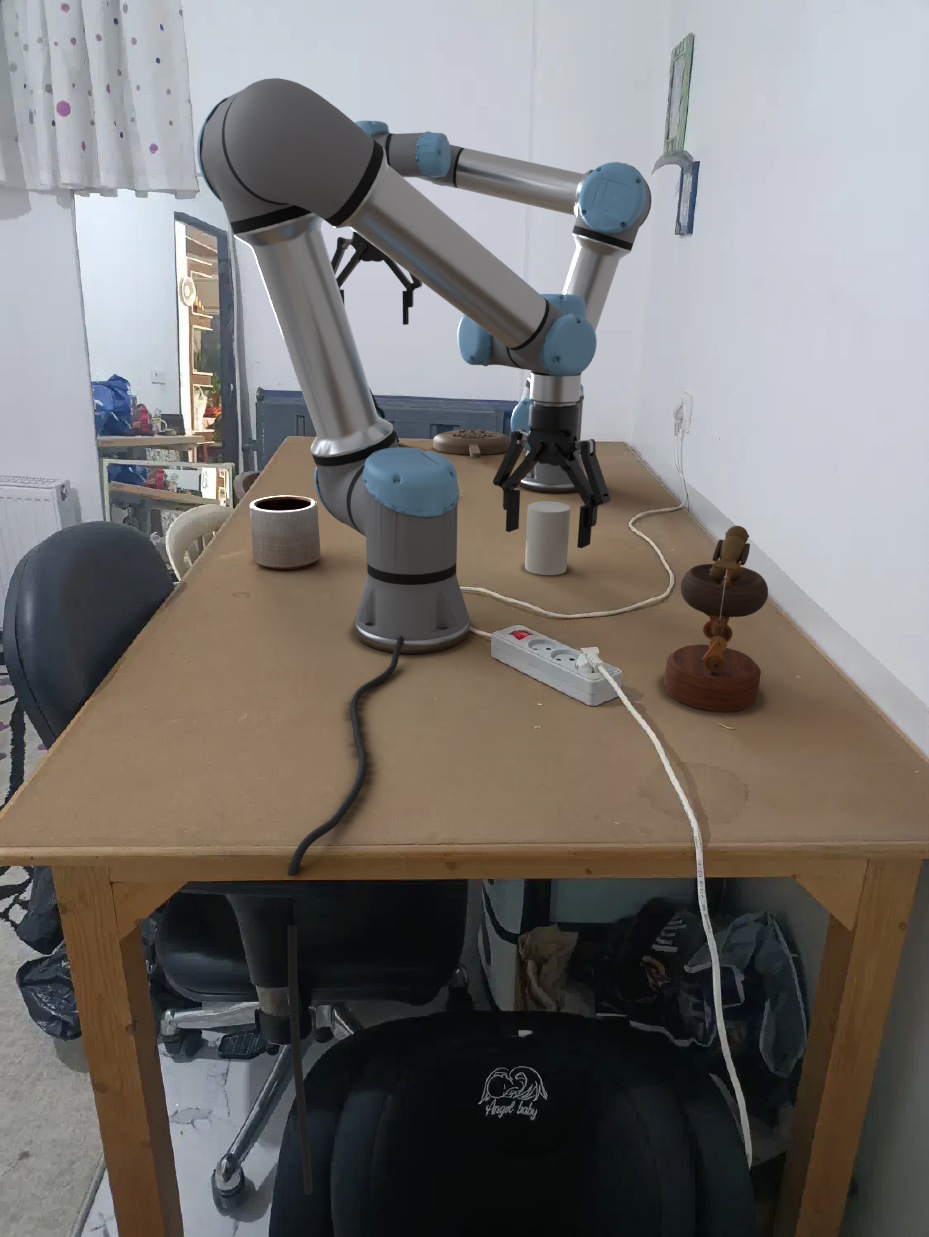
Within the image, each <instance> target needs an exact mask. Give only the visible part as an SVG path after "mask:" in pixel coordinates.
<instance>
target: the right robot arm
mask: <svg viewBox="0 0 929 1237" xmlns="http://www.w3.org/2000/svg"><path fill="white" fill-rule="evenodd" d="M354 123H355V124H357V125H358V126H359V127H360V128H361V129H363V130H364V131H365V132H366V133H367V134H368V135H370V136H371V137H372V138H373V139H374V140H375V141H376V142H378V143H379V144H380V145H381V146H382V147H383V148H384V149H385V151H386V158H387V164H388V165H389V166H390V167H391V168H392V169H394V170H395V171H396V172H397V173H398V174H399V175H401V176H402V177H403V178H415V179H420V180H423V181H427V182H430V183H432V184H434V185H437V186H441V187H450V188H453V189H459V190H464V191H468V192H473V193H475V194H481V195H484V196H485V195H486V196H489V197H494V198H498V199H502V200H506V201H511V202H514V203H520V204H524V205H527V206H533V207H536V208H540V209H545V210H550V211H554V212H558V213H562V214H567V215H570V216H571V215H572V216H574V217H575V222H574V226H573V229H572V231H571V236H572V238H573V240H574V244H575V249H574V253H573V255H572V259H571V262H570V265H569V269H568V273H567V274H566V278H565V280H564V281H565V282H564V284H563V287H562V291H561V294H574V295H580V296H581V297H583V299H584V301H585V319H587V320H588V321H589V322H590V323H591V325H592V326H593V328H594V330H595V333H596V331H597V329H598V326H599V323H600V320H601V316H602V314H603V311H604V308H605V305H606V302H607V299H608V296H609V293H610V290H611V288H612V284H613V281H614V278H615V275H616V273H617V269H618V267H619V263H620V260H622V258H624V257H626V256H628V255H629V254H631V252H632V249H633V247H634V243H635V241H636V239H637V234H638V232H639V229H640V227H641V226H642V225H644V223H645V222H646V220H647V219H648V217H649V214H650V213H651V212H650V211H651V208H652V192H651V189H650V186H649V184H648V182H647V180H646V179H645V178H644V176H643V174H642V173H641V172H640V171H639V169H637V168H636V167H635V166H633V165H631V164H629V163H626V162H619V161H611V162H607V163H604V164H601V165H599V166H598V167H595V169H589V170H587V171H586V172H585V173H580V172H577V171H572V170H567V169H563V168H559V167H554V166H549V165H545V164H540V163H536V162H531V161H526V160H522V159H519V158H518V159H517V158H513V157H508V156H503V155H499V154H495V153H490V152H484V151H480V150H477V149H472V148H466V147H462V146H458V145H454V144H450V141H449V139H448V136H447V135H446V134H445V133H443V132H433V131H432V132H431V131H425V132H408V133H407V132H406V133H405V132H404V133H391V132H390V130H389V125H388V124H387V122H384V121H380V120H358V121H354ZM349 247H351V248H352V249H353V251H354V253H353V254H352V256H351V257H350V258H349V261H348V262H347V263H346V265H345V266H344V268H343V269H342V270H341V271H340V273H339V274H338V275H337V271H338V270H339V267H340V264H341V262H342V260H343V257H344V255H345V252H346V250H348V249H349ZM330 261H331V265H332V268H333V271H334V274H335V275H337V277H335V278H336V281H337V284H338V287H339V291H340V294H341V297H342V301H343V304H344V307H345V308H346V306H345V289H341V287H342V286H343V284H344V283H345V282H346V280H347V279H348V278H349V277H350V275H351V274H352V272H353V271H354V270H355V268H357V265H359V263H360V262H361V261H362V262H367V263H368V262H369V263H370V262H374V263H375V262H376V263H379V262H380V263H381V262H384V263H385V264H386V265H387V267H389V269H390V270H391V271H392V272H393V274H394V275H395V277H396V278H397V280H398V281H399V282H400V283H401V285H402V286H403V287H404V288H405V290H402V325H403V326H407V325H409V324H410V323H409V322H410V321H409V319H410V318H409V317H410V316H409V313H410V310H409V308H414V293H415V292H414V291H415V290H416V289H419V288H421V287H423V283H422V282H421V281H420V280H419V279H417V278H416V277H415V276H413V275H412V274H411V273H409V272H408V273H409V276H410V278H411V280H412V282H411V281H410V279H409V278H408V276H406V274H405V273H404V272H403V270H402V269H401V267H400V266H399V264H397V263H396V262H395V261H394V260H392V259H391V258H390V257H388V256H387V255H386V254H384V253H383V252H382V251H380V250H379V249H378V248H376V247H375V246H374V245H372V244H371V243H370V242H369V241H367V240H366V239H365V238H363V237H362V236H361V235H359V234H358V233H357V232H355V231H354V230H353V229H352V237H351V238H346V237H343V236H338V237H337V239H336V249H335V252H334V254H333V257H332V258H331V260H330ZM582 374H583V372H581V375H582ZM530 385H531V374H529V375H528V376H527V378H526V381H525V385H524V388H523V391H522V394H521V398H520V401H519V402H518V403H517V405H515V406H514V409H513V411H512V412H511V418H510V429H511V433H512V432H513V431H517V430H521V429H524V430H525V431H526V432H527V433H529V432H530V427H529V408H530V405H531V404H532V403H534V401H532V400H531V399H530ZM584 399H585V394H584V386H583V384H582V383H581V386H580V400H579V401H578V402H575V404H577V405H578V407H579V418H578V428H577V432H576V436H577V439H578V440H581V436H582V435H581V434H582V420H583V404H584ZM524 449H525V450H526V453H525V456H526V455H527V454H528V453H529V452H530V450H531V448H530V446H529V444H528V442H527V443H526V444H525V445H524V448H523V450H524ZM574 454H575V456H576V458H577V459H578V461H579V466H580V467H581V469H582V471H583V473H584V474H585V475H586V472H585V469H584V466H583V463H582V459H581V455H580V454H579V453H578V449H576V450H575V451H574ZM568 462H569V461H568ZM518 486H519V487H521V488H522V489H525V490H529V491H532V492H540V493H541V492H542V493H549V494H550V493H556V494H558V493H559V494H560V493H562V494H563V493H572V492H577V490H576V488H575V487H574V485H573V483H572V482H571V480H570V478H569V477H568V475H567V473H566V472H565V471H564V470H562V468H561V467H560V465H559V466H552V465H550V464H548V463H547V464H540V463H539V462H538V463H537V464H536V465H535V466H534V467H533V468H532V469H531V471H530V472H529V473H528V474H527V475H526V476H525V478H524V479H523V480H522V481H521V482H520V483H519V484H518Z"/></svg>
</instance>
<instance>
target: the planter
mask: <svg viewBox="0 0 929 1237" xmlns="http://www.w3.org/2000/svg"><path fill="white" fill-rule="evenodd" d="M249 513H250V514H249V516H250V530H251V531H250V532H251V544H252V546H251V547H252V558H253V561H254V562H255V563H256V564H257V565H259V566H261V567H263V568H266V569H270V570H296V569H302V568H305V567H309V566H311V565H313V564H315V563H316V562H318V560H320V558H321V540H320V526H319V507H318V502H317V501H316V500H315V499H313V498H311V497H307V496H301V495H300V496H299V495H276V496H267V497H263V498H259V499H256V500H253V501H252V502H250V503H249Z"/></svg>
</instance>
